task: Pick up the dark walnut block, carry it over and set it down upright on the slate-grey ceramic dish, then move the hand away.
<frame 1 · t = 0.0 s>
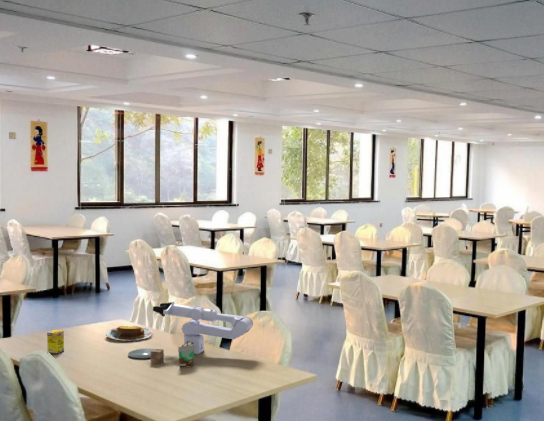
hand: (156, 307, 344), 22 cm above the table, tool horizontal, fingers open, 7 cm apart
walnut block: (157, 362, 321), on the table
food container: (189, 365, 317), on the table
supplement box: (55, 353, 339), on the table
slate dish: (144, 354, 334), on the table
food on plate: (129, 337, 370), on the table
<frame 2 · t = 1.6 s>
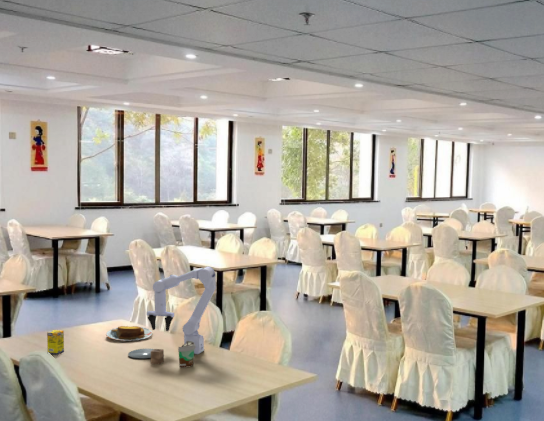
hand: (160, 330, 342), 10 cm above the table, tool pointing down, fingers open, 7 cm apart
nothing on the table moved.
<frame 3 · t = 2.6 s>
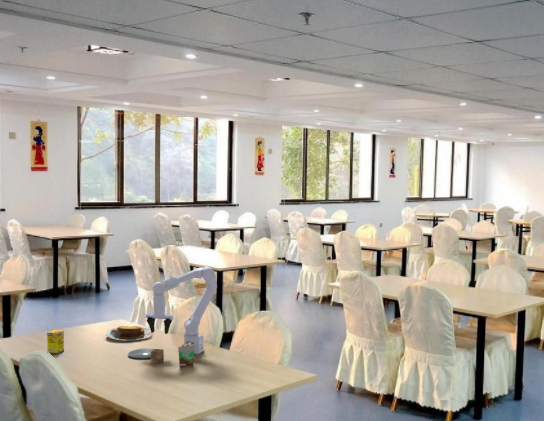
hand: (159, 333, 336), 10 cm above the table, tool pointing down, fingers open, 7 cm apart
nothing on the table moved.
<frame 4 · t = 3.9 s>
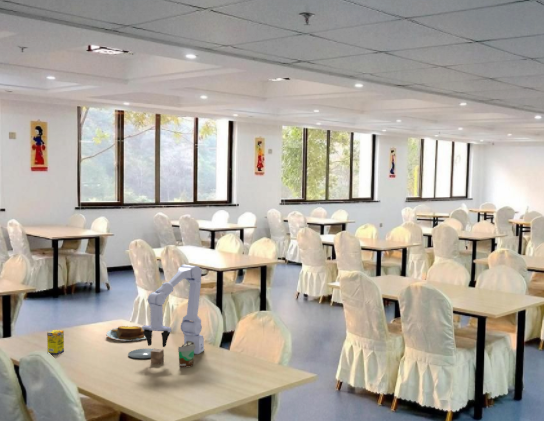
hand: (157, 345, 320), 8 cm above the table, tool pointing down, fingers open, 7 cm apart
nothing on the table moved.
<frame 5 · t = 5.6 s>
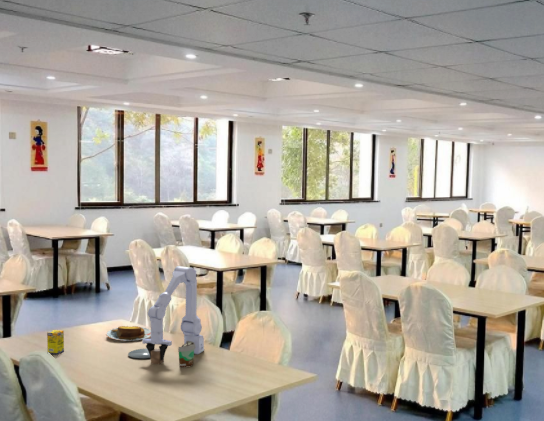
hand: (157, 359, 321), 2 cm above the table, tool pointing down, fingers closed on walnut block, 4 cm apart
walnut block: (157, 362, 321), on the table, touching gripper
everything else where it was.
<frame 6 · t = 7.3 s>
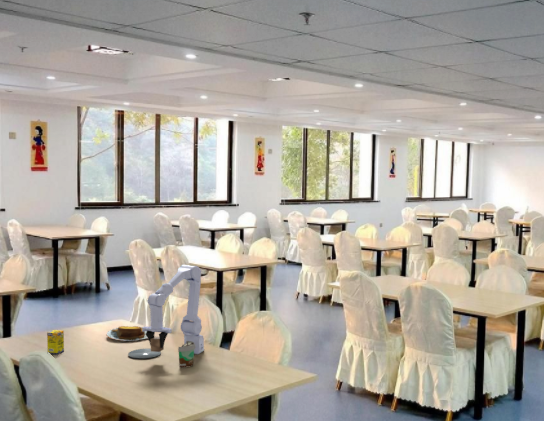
hand: (157, 346, 321), 8 cm above the table, tool pointing down, fingers closed on walnut block, 4 cm apart
walnut block: (157, 350, 321), point 6 cm above the table, touching gripper
everything else where it was.
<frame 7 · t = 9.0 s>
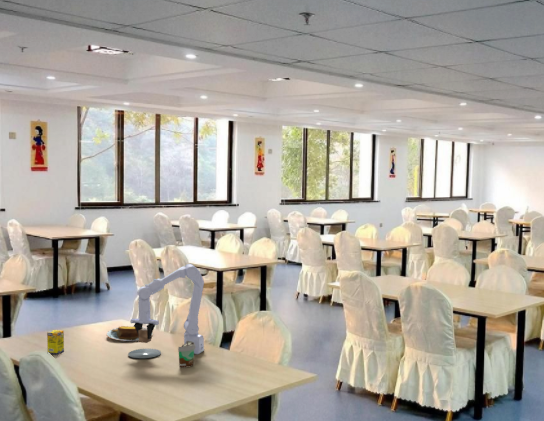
hand: (144, 338, 333), 9 cm above the table, tool pointing down, fingers closed on walnut block, 4 cm apart
walnut block: (144, 341, 333), point 7 cm above the table, touching gripper
everything else where it was.
when the fingers open (4 cm above the table, at t = 10.9 s): walnut block drops 1 cm, resting on slate dish.
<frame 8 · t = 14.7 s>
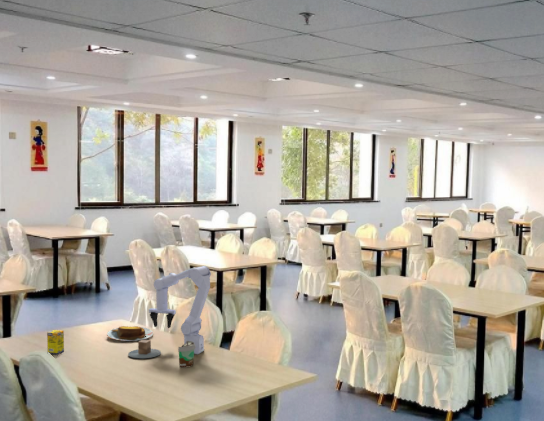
hand: (162, 327, 348), 10 cm above the table, tool pointing down, fingers open, 7 cm apart
walnut block: (144, 352, 334), point 1 cm above the table, touching slate dish
everything else where it was.
at the end: walnut block inside the target area on the slate dish (0.0 cm from its centre), point 1.0 cm above the slate dish's base; walnut block tilted 0°; the gripper is holding nothing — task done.
